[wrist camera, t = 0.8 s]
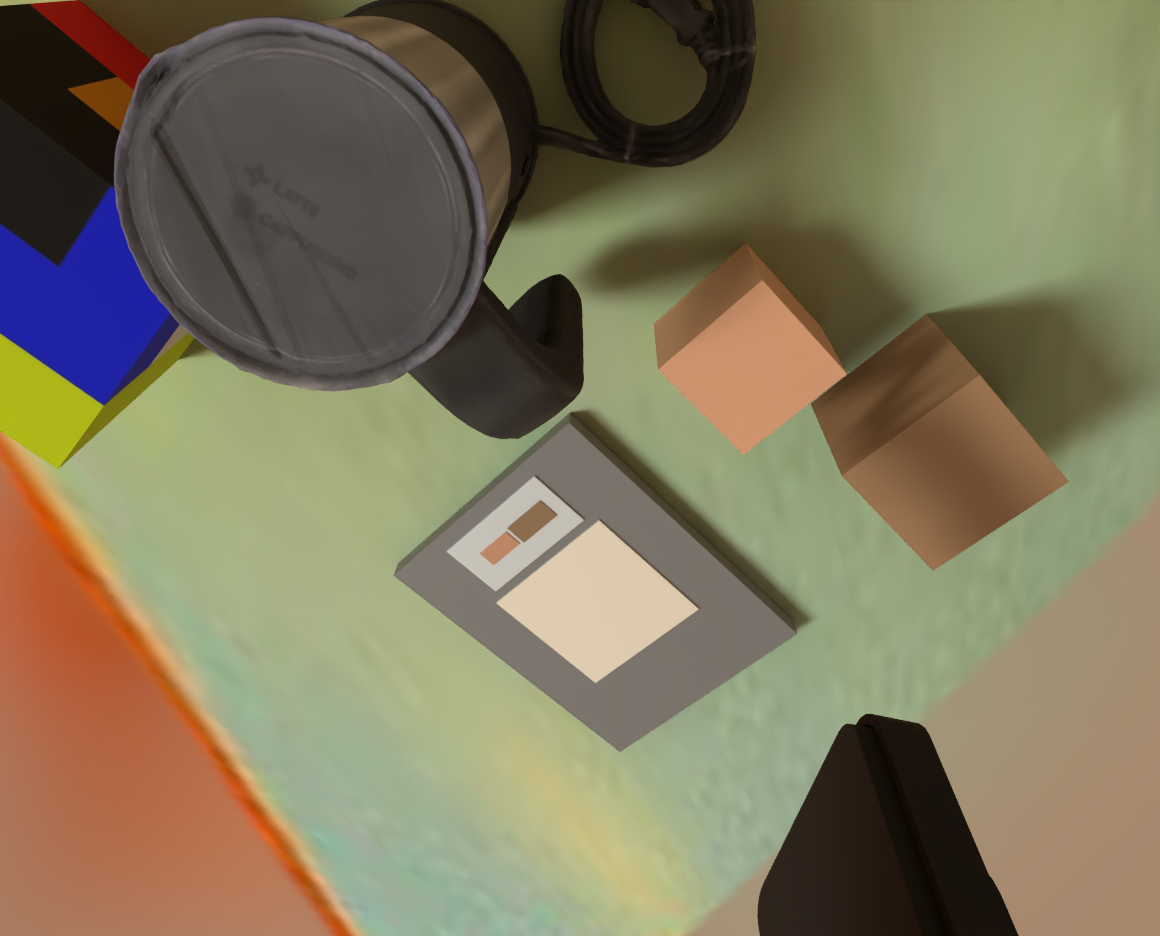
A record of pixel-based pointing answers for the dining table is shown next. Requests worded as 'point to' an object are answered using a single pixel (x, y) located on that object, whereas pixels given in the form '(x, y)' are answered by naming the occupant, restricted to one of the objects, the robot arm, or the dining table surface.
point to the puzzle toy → (69, 234)
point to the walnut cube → (932, 445)
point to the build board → (594, 588)
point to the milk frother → (384, 194)
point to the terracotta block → (745, 350)
